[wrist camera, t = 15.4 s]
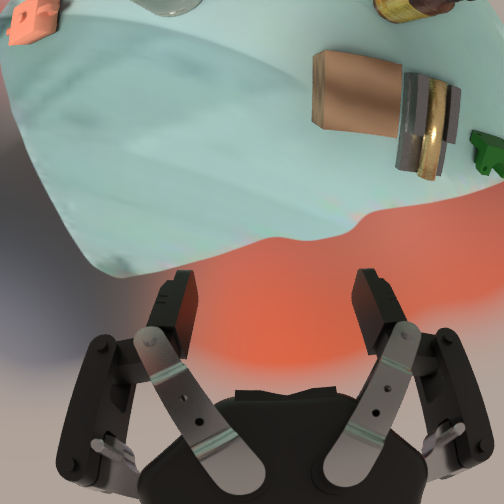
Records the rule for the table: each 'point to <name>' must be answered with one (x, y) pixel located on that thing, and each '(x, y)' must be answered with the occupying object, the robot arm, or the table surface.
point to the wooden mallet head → (356, 93)
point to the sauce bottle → (412, 9)
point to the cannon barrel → (433, 130)
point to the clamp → (488, 153)
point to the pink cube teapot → (33, 21)
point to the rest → (423, 121)
